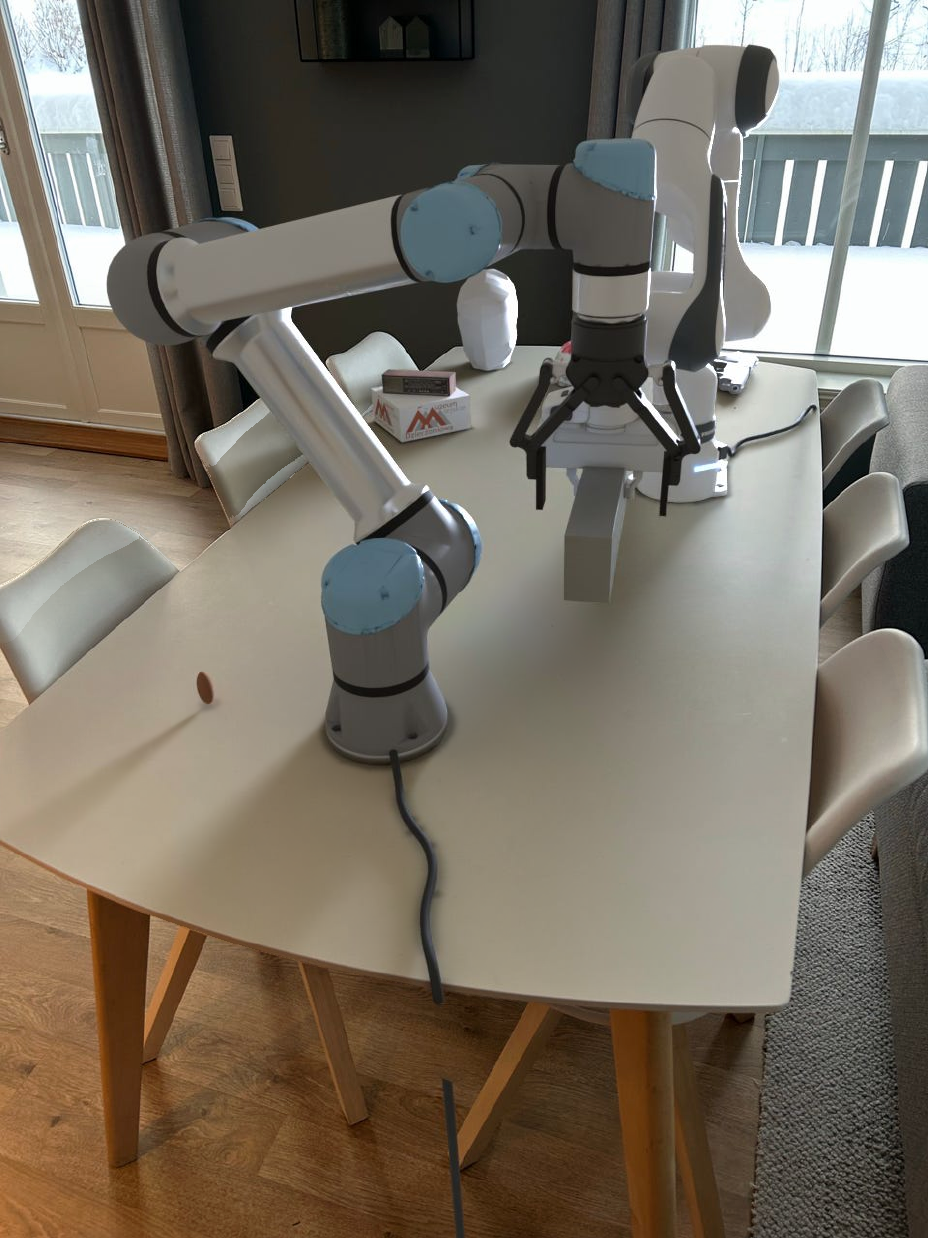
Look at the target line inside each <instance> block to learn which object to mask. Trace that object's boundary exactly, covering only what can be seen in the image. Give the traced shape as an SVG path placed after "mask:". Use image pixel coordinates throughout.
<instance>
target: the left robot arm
mask: <svg viewBox="0 0 928 1238" xmlns="http://www.w3.org/2000/svg"><path fill="white" fill-rule="evenodd" d="M656 198H657V192H656V151H655V148H654V146H653V145H652V144H651V143H650V142H649V141H647V140H643V139H632V138H625V137H624V138H623V137H622V138H608V139H607V138H600V139H590V140H584V141H581V142H580V143H579V144H578V145H577V146H576V148H575V155H574V159H573V162H570V163H567V164H564V163H563V164H512V163H511V164H509V163H507V164H506V163H504V164H503V163H501V162H490V163H485V164H474V165H467V166H466V167H463V168H462V169H461V170H459V172H458V173H457V177H456V178H455V180H454V181H447V182H444V183H440V184H436V185H432V186H429V187H426V188H421V189H418V190H414V191H411V192H407V193H404V194H398V195H395V196H390V197H386V198H381V199H377V200H374V201H369V202H365V203H361V204H356V205H353V206H349V207H345V208H341V209H337V210H332V211H329V212H323V213H319V214H316V215H312V216H308V217H303V218H300V219H295V220H291V221H287V222H284V223H279V224H275V225H271V226H266V227H263V228H258V227H257V226H255V225H254V224H252V223H250V222H248V221H247V220H244V219H240V218H236V217H229V216H227V217H225V216H223V217H206V218H202V219H198V220H197V221H194V222H192V223H189V224H186V225H182V226H178V227H174V228H170V229H166V230H163V231H158V232H152V233H149V234H145V235H142V236H141V235H140V236H139V237H136V238H134V239H133V240H131V241H128V242H127V243H126V244H125V245H123V246H122V247H121V248H120V249H119V250H118V251H117V253H116V254H115V255H114V256H113V258H112V260H111V262H110V264H109V267H108V271H107V276H106V294H107V299H108V302H109V306H110V307H111V310H112V312H113V314H114V316H115V317H116V319H117V320H118V321H119V323H120V324H121V325H122V326H123V327H124V328H125V330H127V331H128V332H129V333H131V334H132V335H133V336H134V337H136V338H138V339H139V340H142V341H143V342H145V343H149V344H151V345H156V346H157V345H158V346H176V345H180V344H184V343H189V342H191V341H194V340H196V339H199V340H200V342H201V343H202V344H203V345H204V347H205V348H206V349H207V350H208V352H209V353H210V355H211V356H212V357H213V358H214V359H215V360H218V361H223V362H230V363H232V364H234V365H235V367H236V368H237V369H238V371H239V372H240V373H241V375H242V376H243V377H244V378H245V380H246V381H247V382H248V383H249V385H250V387H252V389H253V390H254V392H255V393H256V394H257V395H258V397H259V398H260V399H261V401H262V402H263V403H264V405H265V406H266V407H267V408H268V410H269V411H270V413H271V414H272V415H273V417H274V418H275V419H276V421H277V422H278V423H279V425H280V426H281V427H282V428H283V430H284V432H286V434H287V435H288V437H289V438H290V439H291V440H292V442H293V443H294V444H295V446H296V447H297V448H298V450H299V451H300V453H302V455H303V456H304V458H305V459H306V460H307V461H308V463H309V464H310V465H311V467H312V468H313V469H314V470H315V472H316V473H317V474H318V477H319V478H320V479H321V480H322V481H323V483H324V484H325V485H326V487H327V488H328V489H329V491H330V492H331V493H332V494H333V496H334V497H335V499H336V500H337V501H338V502H339V504H340V505H341V506H342V508H343V509H344V510H345V511H346V513H347V514H348V515H349V517H350V518H351V520H352V521H353V522H354V533H353V542H354V543H355V544H354V543H351V544H349V545H347V546H345V547H343V548H342V549H340V550H339V551H336V553H335V554H334V555H333V556H332V557H331V558H330V559H329V560H328V561H327V563H326V565H325V566H324V568H323V570H322V573H321V578H320V579H321V580H320V587H321V588H320V589H321V593H320V594H321V596H320V603H321V604H320V606H321V610H322V613H323V615H324V616H323V617H324V623H325V629H326V636H327V642H328V650H329V651H328V652H329V657H330V663H331V664H330V665H331V671H332V677H333V681H332V685H331V689H330V692H329V697H328V701H327V705H326V710H325V715H324V727H325V728H324V729H325V733H326V738H327V741H328V743H329V745H330V746H331V748H333V749H334V750H335V751H336V752H337V753H338V754H339V755H341V756H342V757H345V758H347V759H349V760H352V761H355V762H358V763H363V764H368V765H390V766H391V771H392V777H393V784H394V792H395V801H396V805H397V808H398V811H399V814H400V817H401V819H402V820H403V822H404V824H405V825H406V827H407V829H409V831H410V832H411V834H412V835H413V836H414V837H415V839H416V840H417V841H418V842H419V844H420V845H421V847H422V849H423V851H424V854H425V857H426V863H427V875H426V876H427V877H426V881H425V886H424V890H423V893H422V898H421V902H420V903H421V904H420V908H419V909H420V911H419V930H420V940H421V945H422V949H423V954H424V958H425V963H426V966H427V967H426V968H427V972H428V977H429V982H430V990H431V997H432V1001H433V1003H434V1004H435V1005H438V1006H439V1005H441V1004H443V1002H444V992H443V985H442V980H441V974H440V973H441V972H440V968H439V964H438V959H437V954H436V952H435V946H434V943H433V939H432V934H431V933H432V932H431V923H430V922H431V921H430V919H431V918H430V915H431V907H432V902H433V896H434V892H435V888H436V884H437V877H438V862H437V856H436V851H435V849H434V847H433V844H432V843H431V841H430V839H429V838H428V836H427V835H426V834H425V832H424V831H423V830H422V829H421V828H420V826H419V825H418V824H417V822H416V821H415V820H414V818H413V816H412V815H411V812H410V811H409V807H408V806H407V801H406V797H405V789H404V781H403V776H402V770H401V764H400V763H402V762H406V761H409V760H412V759H415V758H417V757H420V756H422V755H424V754H426V753H427V752H429V751H430V750H432V749H433V748H434V747H436V746H437V745H438V743H440V742H441V740H442V739H443V738H444V736H445V734H446V732H447V729H448V725H449V720H448V719H449V717H448V709H447V705H446V701H445V697H444V696H443V694H442V691H441V689H440V688H439V686H438V683H437V682H436V679H435V678H434V675H433V673H432V671H431V669H430V659H429V657H430V656H429V655H430V654H429V643H428V632H429V630H430V628H431V627H432V625H433V624H434V623H435V622H436V620H437V619H438V618H439V617H440V616H441V615H442V614H443V612H444V611H445V610H446V609H447V608H448V606H450V604H451V603H452V602H453V601H454V600H455V598H456V597H457V596H458V595H459V594H460V593H461V592H462V591H464V590H465V589H466V587H467V586H468V585H469V584H470V582H471V581H472V578H473V575H474V574H475V573H476V572H477V570H478V567H479V565H480V562H481V558H482V552H483V551H482V550H483V549H482V548H483V547H482V546H483V545H482V538H481V535H480V532H479V529H478V527H477V525H476V522H475V521H474V519H473V518H472V516H471V515H470V514H469V512H467V511H466V510H465V509H464V508H463V507H461V506H460V505H459V504H457V503H456V502H453V503H452V502H449V501H448V500H447V499H442V498H437V497H436V496H435V495H434V493H433V492H432V491H431V489H430V488H429V486H428V485H426V484H421V483H414V482H411V481H410V480H409V479H408V478H407V477H406V476H405V474H404V473H403V472H402V470H401V469H400V467H399V465H398V464H397V463H396V462H395V461H394V459H393V457H392V456H391V455H390V454H389V452H388V451H387V449H386V448H385V447H384V446H383V444H382V443H381V442H380V440H379V439H378V437H377V435H375V433H374V432H373V430H371V428H370V426H369V425H368V424H367V422H366V421H365V420H364V418H363V417H362V415H361V414H360V412H359V411H358V410H357V408H356V407H355V405H353V403H352V402H351V401H350V399H349V398H348V397H347V395H346V394H345V392H344V391H343V389H342V388H341V387H340V386H339V384H338V383H337V381H336V380H335V378H334V377H333V375H331V373H330V371H328V369H327V368H326V366H325V365H324V363H323V362H322V361H321V360H320V358H319V356H318V355H317V354H316V353H315V352H314V350H313V349H312V347H311V346H310V345H309V343H308V341H306V339H305V338H304V336H303V335H302V333H301V332H300V331H299V329H298V328H297V327H296V325H295V324H294V323H293V321H292V317H291V316H292V309H293V308H295V307H302V306H305V305H311V304H316V303H322V302H326V301H332V300H337V299H341V298H346V297H351V296H357V295H361V294H368V293H371V292H376V291H382V290H387V289H391V288H397V287H398V288H399V287H403V286H408V285H412V284H417V283H424V282H437V283H442V284H443V283H444V284H447V283H453V282H458V281H462V280H465V279H466V280H467V279H468V278H470V277H472V276H475V275H477V274H478V273H480V272H481V271H482V270H486V269H487V268H488V267H490V266H491V265H493V264H495V263H497V262H499V261H501V260H502V259H505V258H507V257H509V256H511V255H512V254H514V253H516V252H518V251H520V250H530V249H532V250H559V251H561V250H562V251H564V250H572V257H573V260H572V279H571V280H572V281H571V282H572V284H571V287H572V290H571V291H572V292H571V310H572V311H573V312H574V313H575V314H574V316H573V317H572V318H571V330H570V331H571V334H570V336H571V337H570V338H571V339H570V341H571V359H570V361H569V363H568V364H567V363H559V362H554V359H553V358H552V357H545V358H543V360H542V363H541V365H540V367H539V374H538V375H539V376H538V383H537V385H536V386H535V389H534V391H533V393H532V395H531V397H530V399H529V401H528V403H527V404H526V406H525V408H524V411H523V412H522V414H521V416H520V417H519V420H518V422H517V424H516V426H515V428H514V430H513V432H512V434H511V436H510V438H509V442H508V443H509V445H510V446H511V447H512V448H514V449H515V448H519V449H521V450H523V451H524V452H525V455H526V456H525V458H526V459H525V460H526V462H525V463H526V464H525V465H526V468H525V469H526V470H525V471H526V472H525V473H526V478H527V479H528V480H535V511H543V510H544V507H545V503H546V501H547V499H546V498H547V495H546V494H547V491H546V490H547V467H546V446H541V445H542V444H543V443H544V442H545V441H546V440H547V439H548V438H549V437H550V436H551V435H552V434H553V432H554V431H555V430H556V429H557V428H558V427H559V426H560V425H561V424H562V423H563V422H564V421H565V419H566V418H567V417H568V416H569V415H570V414H571V413H572V412H573V411H575V410H576V409H577V408H578V406H579V405H580V404H581V403H582V402H583V401H584V402H585V403H586V404H588V405H590V407H600V406H609V407H612V408H620V406H622V405H625V404H626V403H627V404H628V405H629V406H630V408H631V409H632V410H633V411H634V412H635V413H637V414H638V416H639V417H640V418H641V419H642V421H643V422H644V423H645V424H646V426H647V427H648V428H649V429H650V431H651V432H652V433H653V434H654V436H655V437H656V438H657V439H658V441H659V442H660V443H661V444H662V446H663V447H664V448H665V449H666V451H664V459H663V471H662V484H661V496H660V500H659V510H658V511H659V512H658V516H659V517H667V511H668V510H667V509H668V502H667V500H668V488H669V485H670V486H678V484H679V482H680V476H681V465H682V459H683V458H684V457H685V456H686V455H689V454H698V453H699V452H700V450H701V441H700V437H699V435H698V432H697V430H696V428H695V425H694V423H693V421H692V418H691V416H690V414H689V411H688V409H687V407H686V404H685V402H684V400H683V397H682V395H681V393H680V390H679V388H678V386H677V383H676V381H675V363H674V362H673V361H672V360H666V361H665V362H664V364H655V365H648V364H647V363H646V360H645V348H646V333H647V318H646V317H645V315H644V314H642V313H644V312H645V311H646V310H647V309H648V299H649V286H650V272H652V271H651V270H652V268H651V265H652V263H651V262H652V261H651V260H652V247H653V235H654V222H655V221H654V220H655V212H656V211H655V202H656ZM563 375H566V377H567V379H568V380H569V382H570V383H571V385H572V386H573V387H574V389H573V390H572V391H571V392H570V393H569V394H568V396H567V397H566V398H565V399H564V401H563V402H562V403H561V404H560V405H559V406H558V407H557V408H556V409H555V410H554V412H553V413H552V414H551V415H550V416H549V417H548V418H547V419H546V420H545V421H544V423H543V424H542V425H541V426H540V427H539V428H538V429H537V428H536V430H535V431H533V434H527V432H528V430H529V428H530V427H531V425H532V423H533V420H534V418H535V417H536V414H537V413H538V411H539V409H540V407H541V405H542V404H543V402H544V400H545V398H546V395H547V394H548V391H549V389H550V387H551V385H555V384H558V383H557V382H558V380H559V378H560V377H561V376H563ZM648 378H651V379H652V380H653V379H654V380H655V383H656V385H658V386H663V389H664V393H665V396H666V399H667V401H668V403H669V406H670V408H671V410H672V412H673V415H674V417H675V419H676V422H677V424H678V426H679V429H680V431H681V433H682V435H683V438H684V440H682V441H680V440H679V439H678V437H677V436H676V435H675V434H674V432H673V431H672V430H671V429H670V427H669V426H668V425H667V424H666V422H665V421H664V420H663V419H662V417H661V416H660V415H659V413H658V412H657V411H656V410H655V408H654V407H653V406H652V405H651V404H652V403H651V402H650V401H649V400H648V398H647V396H646V395H645V393H644V392H643V390H642V386H643V385H644V384H645V383H646V382H647V380H648ZM640 387H641V389H640ZM441 1084H442V1085H441V1086H442V1093H443V1094H442V1096H443V1105H444V1106H443V1107H444V1115H445V1116H444V1118H445V1126H446V1137H447V1148H448V1149H447V1150H448V1161H449V1171H450V1185H451V1195H452V1197H451V1198H452V1206H453V1208H452V1209H453V1217H454V1218H453V1219H454V1230H455V1238H466V1234H465V1233H466V1232H465V1221H464V1208H463V1207H464V1206H463V1196H462V1183H461V1181H462V1180H461V1170H460V1167H461V1166H460V1156H459V1155H460V1154H459V1141H458V1129H457V1118H456V1117H457V1116H456V1107H455V1095H454V1085H453V1081H451V1080H448V1079H445V1078H443V1077H441Z"/></svg>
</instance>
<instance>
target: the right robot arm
mask: <svg viewBox="0 0 928 1238" xmlns="http://www.w3.org/2000/svg"><path fill="white" fill-rule="evenodd" d="M626 79H627V80H626V84H625V88H624V89H625V91H624V102H625V103H624V104H625V112H626V116H627V119H628V121H629V122H630V123H631V124H632V125H633V129H632V133H631V138H632V139H643V140H647V141H649V142H650V143H651V144H652V145H653V146H654V148H655V151H656V192H657V198H656V202H655V212H656V213H659V214H660V215H663V216H665V217H666V219H665V221H666V222H665V227H666V232H667V234H668V236H669V238H670V239H671V240H672V241H673V242H674V243H675V244H676V245H678V247H681V248H683V249H685V250H686V251H688V252H689V253H691V254H692V255H693V259H692V260H693V261H692V271H679V270H678V271H677V270H675V271H674V270H654V271H651V272H650V286H649V299H648V309H647V310H646V311H645V312H644V313H642V314H644V315H645V317H646V318H647V333H646V348H645V360H646V363H647V364H648V365H655V364H664V362H665V361H666V360H672V361H673V362H674V363H675V381H676V383H677V386H678V388H679V390H680V393H681V395H682V397H683V400H684V402H685V404H686V407H687V409H688V411H689V414H690V416H691V418H692V421H693V423H694V425H695V428H696V430H697V432H698V435H699V437H700V441H701V450H700V452H699V453H698V454H689V455H686V456H685V457H684V458H683V459H682V465H681V476H680V482H679V484H678V486H670V485H669V488H668V500H667V503H680V504H681V503H682V504H683V503H694V502H695V503H696V502H699V501H704V500H706V499H710V498H715V497H723V496H727V494H728V483H727V482H728V481H727V466H728V461H727V460H726V459H727V456H728V457H733V456H735V455H736V453H737V451H738V449H739V448H740V447H741V446H742V445H743V444H746V443H747V442H752V441H756V440H760V439H764V438H768V437H772V436H775V435H779V434H782V433H786V432H788V431H790V430H793V429H794V428H796V427H798V426H799V425H800V424H801V423H802V421H803V420H804V418H805V417H806V416H807V415H809V413H810V411H811V410H817V409H818V406H817V404H815V403H810V404H809V405H808V406H807V407H806V409H804V411H803V412H802V413H801V414H800V416H798V418H797V420H796V421H795V422H793V423H791V424H789V425H787V426H785V427H781V428H778V429H775V430H771V431H768V432H764V433H760V434H754V435H751V436H747V437H744V438H742V439H740V440H738V441H737V442H736V443H735V444H734V446H733V448H731V447H730V446H729V445H728V444H726V443H724V442H720V441H717V439H716V437H715V435H716V429H717V420H716V419H717V418H716V415H715V411H716V410H715V408H716V400H717V399H716V398H717V392H718V391H717V390H718V381H719V380H718V377H717V375H716V373H715V371H714V369H713V368H712V367H711V366H710V365H709V364H710V363H711V362H713V361H714V360H715V359H716V358H717V357H718V356H719V355H720V353H722V352H721V351H722V350H723V347H724V344H725V343H726V342H735V341H743V340H749V339H754V338H756V337H757V336H758V335H759V334H760V333H761V332H762V331H763V330H764V329H765V327H766V325H767V324H768V322H769V320H770V317H771V315H772V309H773V298H772V294H771V291H770V289H769V286H768V285H767V283H766V282H765V281H764V280H763V278H761V277H760V276H759V275H758V274H757V273H756V272H755V271H754V270H753V269H752V268H751V266H750V265H749V263H748V262H747V260H746V258H745V256H744V254H743V251H742V249H741V246H740V242H739V237H738V209H739V208H738V207H739V194H740V187H741V186H740V185H741V177H742V175H741V174H742V161H743V139H745V138H747V137H749V135H750V133H751V131H752V130H754V129H757V128H759V127H760V126H761V125H762V124H763V123H764V122H765V121H766V120H767V119H768V118H769V117H770V115H771V112H772V110H773V107H774V105H775V103H776V100H777V98H778V94H779V89H780V71H779V67H778V61H777V56H776V55H775V54H774V52H773V51H772V49H771V48H769V47H767V46H762V45H758V44H748V45H746V46H741V45H730V44H729V45H728V44H704V45H702V46H699V47H698V46H697V47H689V48H680V49H675V50H670V51H665V52H662V51H661V50H657V51H653V52H648V53H647V54H644V55H642V56H639V58H638V59H637V60H636V61H635V62H634V63H633V65H631V68H630V70H629V72H628V75H627V78H626ZM573 389H574V387H573V386H571V387H563V388H560V389H557V390H553V391H551V392H549V393H548V394H547V396H545V398H544V399H543V402H542V406H541V418H540V420H539V423H538V424H537V427H536V430H537V429H538V428H539V427H540V426H541V425H542V424H543V423H544V421H545V420H546V419H547V418H548V417H549V416H550V415H551V414H552V413H553V412H554V410H555V409H556V408H557V407H558V406H559V405H560V404H561V403H562V402H563V401H564V399H565V398H566V397H567V396H568V394H569V393H570V392H571V391H572V390H573ZM640 389H641V390H642V386H641V387H640ZM651 402H652V403H651V405H652V406H653V407H654V408H655V410H656V411H657V412H658V413H659V415H660V416H661V417H662V419H663V420H664V421H665V422H666V424H667V425H668V426H669V427H670V429H671V430H672V431H673V432H674V434H675V435H676V436H677V437H678V439H679V440H680V441H682V440H684V438H683V435H682V433H681V431H680V429H679V426H678V424H677V422H676V419H675V417H674V415H673V412H672V410H671V408H670V406H669V403H668V401H667V399H666V396H665V393H664V389H663V386H658V385H656V383H655V380H654V379H653V378H652V401H651ZM541 446H546V468H551V469H553V468H554V469H555V468H556V469H566V470H565V471H566V473H565V474H566V476H567V478H568V480H569V482H570V483H571V485H572V486H573V497H575V496H576V492H577V488H578V485H579V481H580V478H579V477H578V475H577V473H578V470H583V467H584V466H587V467H610V468H625V471H627V472H632V473H630V475H628V476H627V478H626V483H625V487H624V499H625V500H626V499H627V500H634V498H635V489H637V490H638V491H639V492H640V493H641V494H643V495H644V496H646V497H648V498H650V499H653V500H658V501H660V496H661V484H662V471H663V459H664V451H666V449H665V448H664V447H663V446H662V444H661V443H660V442H659V441H658V439H657V438H656V437H655V436H654V434H653V433H652V432H651V431H650V429H649V428H648V427H647V426H646V424H645V423H644V422H643V421H642V419H641V418H640V417H639V416H638V414H637V413H635V412H634V411H633V410H632V409H631V408H630V406H629V405H628V404H627V403H626V404H625V405H622V406H620V408H612V407H609V406H600V407H590V405H588V404H586V403H585V402H584V401H583V402H582V403H581V404H580V405H579V406H578V408H577V409H576V410H575V411H573V412H572V413H571V414H570V415H569V416H568V417H567V418H566V419H565V421H564V422H563V423H562V424H561V425H560V426H559V427H558V428H557V429H556V430H555V431H554V432H553V434H552V435H551V436H550V437H549V438H548V439H547V440H546V441H545V442H544V443H543V444H542V445H541ZM724 460H726V461H724Z"/></svg>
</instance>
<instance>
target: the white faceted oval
mask: <svg viewBox="0 0 928 1238" xmlns="http://www.w3.org/2000/svg"><path fill="white" fill-rule="evenodd" d="M456 310H457V325H458V329H459V332H460V336H461V342H462V348H463V352H464V354H465V356H466V358H467V359H468V360H469V362H470V364H471V366H472V368H473V369H477V370H482V371H487V372H489V371H495V370H500V369H504V368H505V367H506V365H508V364H509V363H510V362H511V356H512V354H513V351H514V348H515V346H516V343H517V342H516V341H517V336H518V334H517V319H518V299H517V294H516V288H515V285H514V283H513V282H512V281H511V279H510V278H509V276H508V275H507V274H505V273H503V272H501V271H500V270H497V269H495V268H488V269H487V268H486V269H483V270H482V271H481V272H480V273H478V274H477V275H475V276H472V277H470V278H466V280H465V282H464V283H463V284H462V286H461V287H460V290H459V293H458V295H457V301H456Z"/></svg>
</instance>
